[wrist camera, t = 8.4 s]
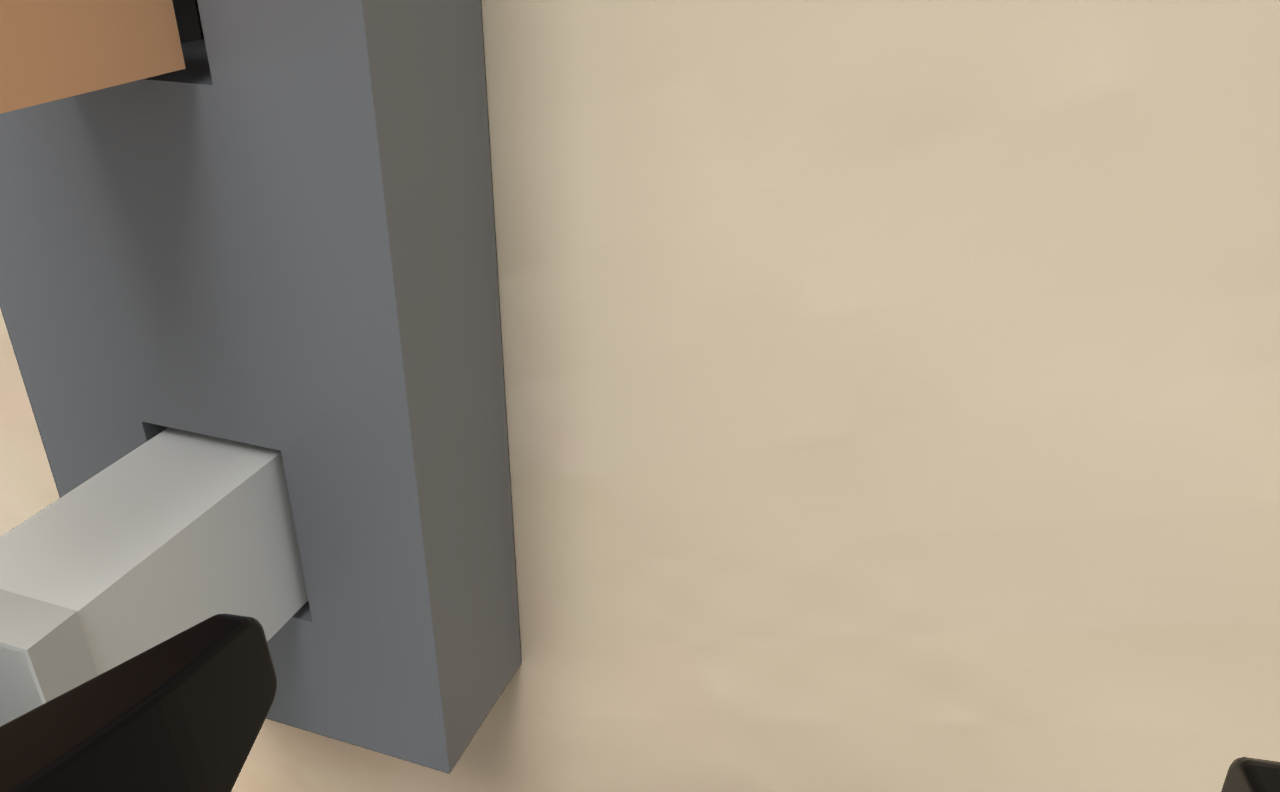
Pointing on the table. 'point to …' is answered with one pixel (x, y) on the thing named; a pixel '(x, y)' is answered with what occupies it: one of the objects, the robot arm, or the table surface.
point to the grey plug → (144, 562)
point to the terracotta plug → (82, 47)
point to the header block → (296, 328)
